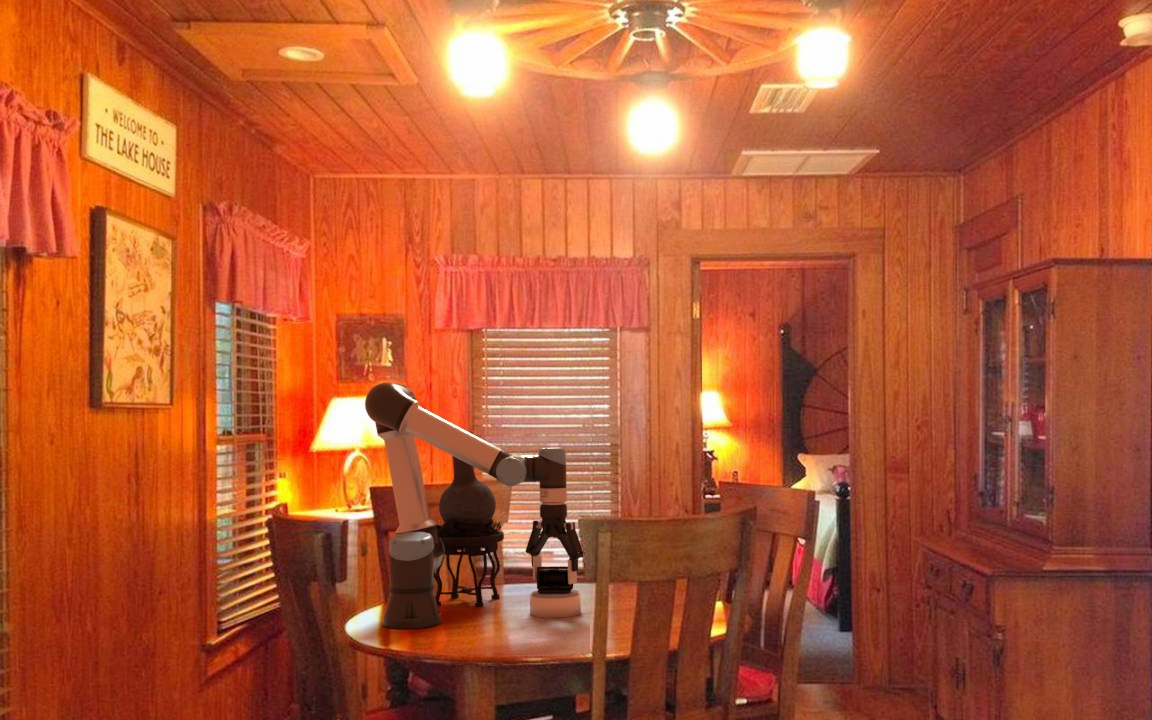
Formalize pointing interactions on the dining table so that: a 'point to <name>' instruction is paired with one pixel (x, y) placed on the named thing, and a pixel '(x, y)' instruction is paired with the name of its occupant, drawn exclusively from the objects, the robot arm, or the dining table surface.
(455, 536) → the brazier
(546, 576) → the end cap
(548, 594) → the stand
